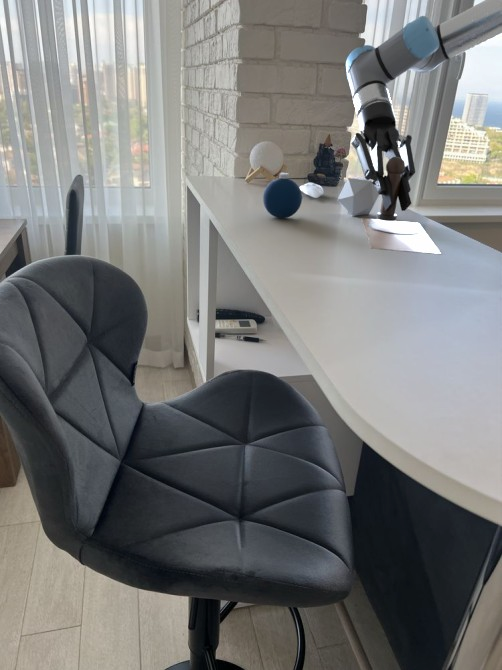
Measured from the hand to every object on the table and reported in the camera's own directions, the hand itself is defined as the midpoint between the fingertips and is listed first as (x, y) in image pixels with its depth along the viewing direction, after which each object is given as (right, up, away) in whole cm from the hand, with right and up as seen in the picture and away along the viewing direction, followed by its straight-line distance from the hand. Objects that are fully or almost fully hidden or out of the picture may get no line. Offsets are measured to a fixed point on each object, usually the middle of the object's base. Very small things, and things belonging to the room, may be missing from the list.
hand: (398, 206), depth 102 cm
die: (-5, +2, +16) cm, 17 cm away
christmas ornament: (-23, 0, +9) cm, 25 cm away
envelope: (-1, -6, -1) cm, 6 cm away
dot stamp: (-1, -1, +5) cm, 5 cm away
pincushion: (-14, +11, +33) cm, 37 cm away
